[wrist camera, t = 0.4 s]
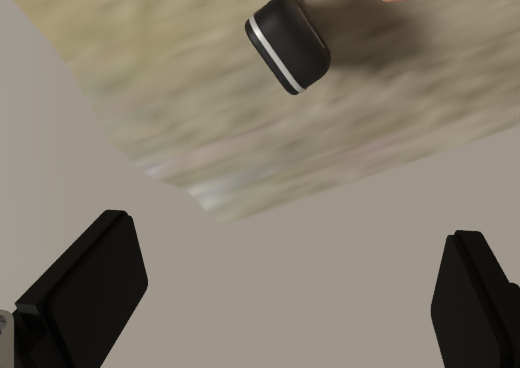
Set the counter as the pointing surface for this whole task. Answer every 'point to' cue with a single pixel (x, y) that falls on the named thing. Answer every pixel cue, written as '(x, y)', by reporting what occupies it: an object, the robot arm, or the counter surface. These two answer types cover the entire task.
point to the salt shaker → (393, 0)
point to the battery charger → (289, 44)
